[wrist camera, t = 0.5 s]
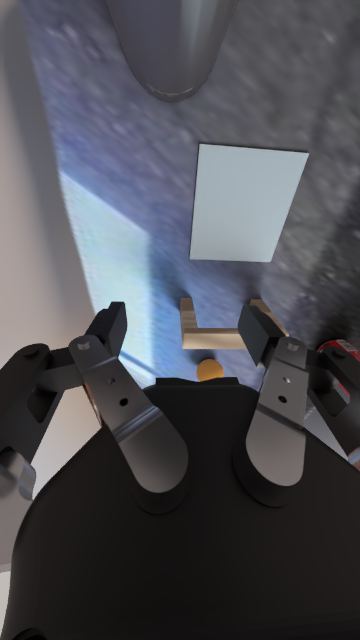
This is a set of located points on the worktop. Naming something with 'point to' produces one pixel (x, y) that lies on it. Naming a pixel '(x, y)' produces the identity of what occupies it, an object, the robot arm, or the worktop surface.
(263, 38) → the worktop surface
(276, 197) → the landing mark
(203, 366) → the ball
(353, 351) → the soda can
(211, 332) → the bridge
